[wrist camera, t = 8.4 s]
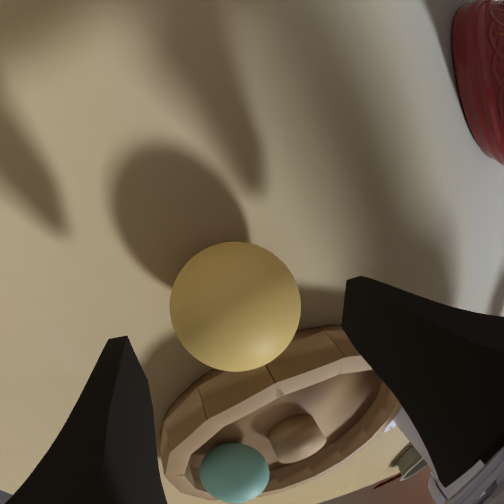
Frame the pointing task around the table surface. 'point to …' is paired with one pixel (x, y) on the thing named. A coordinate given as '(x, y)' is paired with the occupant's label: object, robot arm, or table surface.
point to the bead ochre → (235, 306)
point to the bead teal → (234, 472)
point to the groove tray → (281, 413)
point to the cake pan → (410, 463)
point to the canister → (482, 72)
